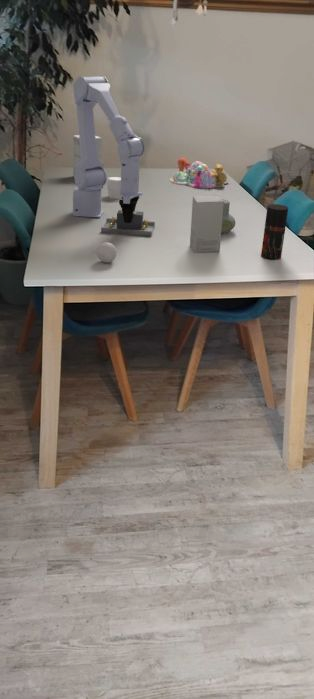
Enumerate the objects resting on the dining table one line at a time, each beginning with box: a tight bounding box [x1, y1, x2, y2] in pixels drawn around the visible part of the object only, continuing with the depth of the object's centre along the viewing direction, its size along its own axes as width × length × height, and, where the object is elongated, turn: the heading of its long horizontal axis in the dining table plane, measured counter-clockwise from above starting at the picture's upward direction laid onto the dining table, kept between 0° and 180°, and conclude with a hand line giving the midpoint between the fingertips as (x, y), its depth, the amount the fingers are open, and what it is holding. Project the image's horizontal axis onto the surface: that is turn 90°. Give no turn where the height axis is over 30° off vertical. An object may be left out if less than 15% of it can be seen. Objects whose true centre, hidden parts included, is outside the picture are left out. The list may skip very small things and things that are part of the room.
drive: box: [116, 209, 144, 230], centre depth 207 cm, size 8×4×5 cm, turn 85°
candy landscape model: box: [169, 157, 229, 190], centre depth 272 cm, size 25×24×9 cm
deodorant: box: [260, 203, 289, 261], centre depth 189 cm, size 6×6×15 cm
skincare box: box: [189, 195, 224, 253], centre depth 191 cm, size 8×7×16 cm
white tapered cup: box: [106, 176, 122, 200], centre depth 243 cm, size 7×7×7 cm
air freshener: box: [221, 198, 236, 235], centre depth 210 cm, size 11×8×10 cm
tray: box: [100, 216, 156, 237], centre depth 208 cm, size 16×11×3 cm
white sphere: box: [92, 241, 118, 264], centre depth 179 cm, size 8×6×6 cm
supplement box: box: [72, 134, 103, 177], centre depth 266 cm, size 10×9×17 cm
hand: (128, 220), depth 207 cm, fingers closed on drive, 4 cm apart
